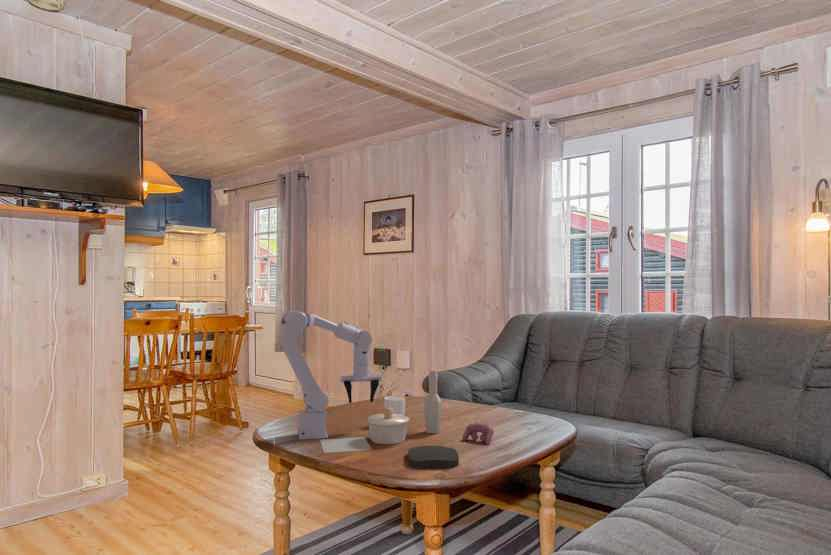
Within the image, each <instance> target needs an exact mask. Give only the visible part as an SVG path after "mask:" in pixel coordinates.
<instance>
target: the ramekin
mask: <svg viewBox="0 0 831 555" xmlns="http://www.w3.org/2000/svg"><path fill="white" fill-rule="evenodd" d="M408 423H409V422H408ZM408 423H406V424H402V425H395V426H382V425H375V424H371V423H369V422H368V421H367V424H368V425H367V426H368V431H369V432H368V433H369V438H370V440H371V442H372V443H375V444H377V445H378V444H379V445H397V444H401V443H402V442H403V443H404V441H405V439H406V435H407V429H408V428H407V427H408Z"/></svg>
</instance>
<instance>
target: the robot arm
mask: <svg viewBox="0 0 831 555" xmlns="http://www.w3.org/2000/svg"><path fill="white" fill-rule="evenodd" d="M349 323H350V322H347V321H344V322H343V321H339V322H338V323H335V322H332V321H330V320H328V319H326V318H323V317H322V316H319V315H316V314H313V313H308V312H303V311H299V310H293V309H290V310H287V311H286V312H285V313H284V314H283V316H282V318H281V320H280V331H279V343H280V345H281V347H282V350H283V352H284V353H285V356H286V357H287V360H288V362H289V364H290V366H291V368H292V370H293V372H294V374H295V376H296V378H297V381H298V382H299V384H300V387H301V393H302V394H303V396H302V398H303V403H304V404H305V408H304V410H301V411H298V428H297V434H298V438H299V440H314V439H329V436H328V433H327V407H328V405H329V397H328V396H327V394H325V393H324V392H323V391H322V389H321V387H320V386H319V385H318V383H317V382H316V379H315V377H314V376H313V373H312V371H311V370H310V368H309V365H308V364H307V360H306V359H305V358H304V355H303V353H302V351H301V349H300V347H299V344H298V342H297V340H298V338H299V336H300V334H301V333H302V332H303V330H305V328H306V327H308V328H311V327H318V328H319V329H323V330H326V331H329V332H331V333H333V335H334V337H335V338H337V339H340V340H342V341H346V342H347V343H351V344H353V360H352V362H353V367H352V375H351V374H350V375H342V376H340V383H343V385H344V388H345V391H346V393H347V398H348V403H349V404H352V400H353V398H352V388H353V387H352V386H353V384H352V382H353V383H358V382H360V383H361V382H364V383H365V382H369V386H370V388H369V389H370V395H369V399H370V400H369V402H370V403H373V402H374V397H375V394H376V391H377V389H378V387H379V385H380V382H382V380H383V379H382V377H383V376H382V375H381V374H376V375H375V374H370V354H371V353H370V351H371V350H370V347H371V344H373V338H372V335H371V333H370V332H369V331H368V330H363V329H362V328H361V327H360V326H353V325H351V324H349Z"/></svg>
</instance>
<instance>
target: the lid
mask: <svg viewBox="0 0 831 555" xmlns="http://www.w3.org/2000/svg"><path fill="white" fill-rule="evenodd" d="M366 419H367V420H366V421H367V423H368V422H369V423H371V424H375V425H382V426H395V425H402V424H406V423H409V422H410V417H409V416H407V415H406V414H404V415H401V414H393V408H385V407H384V409H383V413H375V414H372V415H369V416H368V417H367V418H366Z"/></svg>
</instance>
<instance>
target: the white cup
mask: <svg viewBox="0 0 831 555" xmlns="http://www.w3.org/2000/svg"><path fill="white" fill-rule="evenodd" d="M383 399H384V408H393V414H401V415H405V413H406V397H405V396H401V395H400V396H399V395H390V396H385V397H384V398H383Z"/></svg>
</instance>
